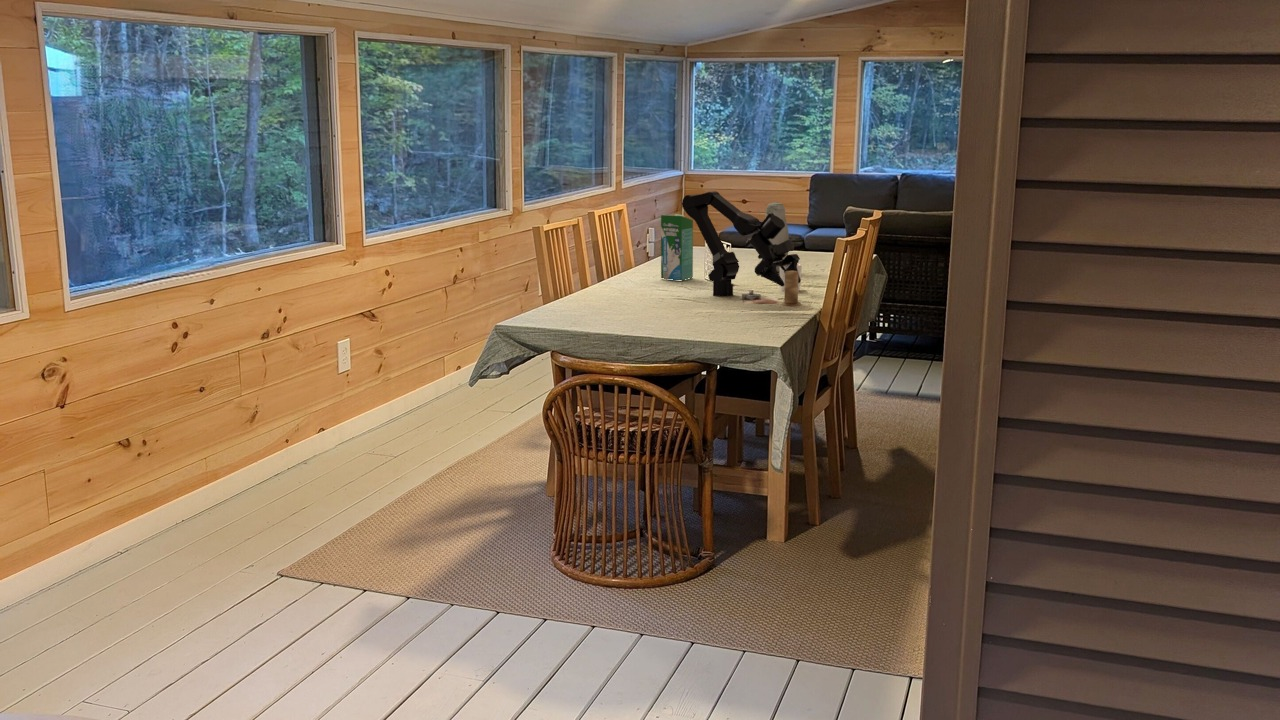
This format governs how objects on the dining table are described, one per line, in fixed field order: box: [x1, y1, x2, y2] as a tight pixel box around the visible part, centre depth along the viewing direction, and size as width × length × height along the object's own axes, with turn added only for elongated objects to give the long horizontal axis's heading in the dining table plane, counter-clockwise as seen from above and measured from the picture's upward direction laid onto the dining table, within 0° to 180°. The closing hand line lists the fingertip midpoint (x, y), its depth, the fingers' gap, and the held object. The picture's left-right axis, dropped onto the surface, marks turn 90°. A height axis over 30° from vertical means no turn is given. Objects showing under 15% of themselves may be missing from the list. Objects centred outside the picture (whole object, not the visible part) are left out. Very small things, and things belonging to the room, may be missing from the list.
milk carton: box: [660, 213, 694, 281], centre depth 432 cm, size 9×9×25 cm
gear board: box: [741, 296, 780, 305], centre depth 381 cm, size 12×14×1 cm
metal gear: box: [741, 289, 762, 300], centre depth 383 cm, size 6×7×3 cm
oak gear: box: [780, 271, 801, 307], centre depth 372 cm, size 6×6×12 cm
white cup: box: [779, 263, 803, 292], centre depth 401 cm, size 8×8×10 cm
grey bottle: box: [764, 201, 790, 274], centre depth 446 cm, size 10×10×28 cm
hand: (791, 283), depth 371 cm, fingers open, 9 cm apart
